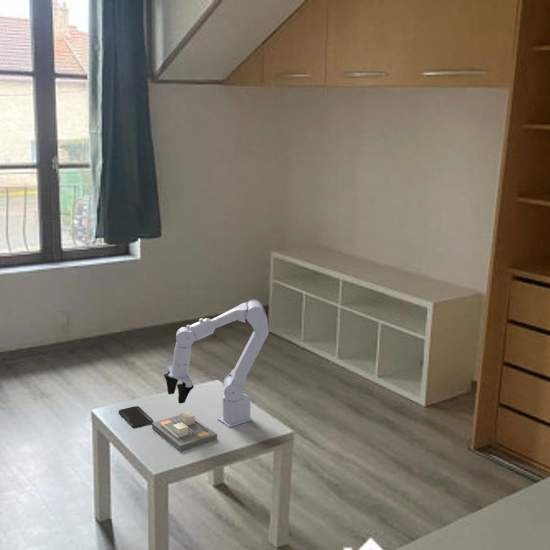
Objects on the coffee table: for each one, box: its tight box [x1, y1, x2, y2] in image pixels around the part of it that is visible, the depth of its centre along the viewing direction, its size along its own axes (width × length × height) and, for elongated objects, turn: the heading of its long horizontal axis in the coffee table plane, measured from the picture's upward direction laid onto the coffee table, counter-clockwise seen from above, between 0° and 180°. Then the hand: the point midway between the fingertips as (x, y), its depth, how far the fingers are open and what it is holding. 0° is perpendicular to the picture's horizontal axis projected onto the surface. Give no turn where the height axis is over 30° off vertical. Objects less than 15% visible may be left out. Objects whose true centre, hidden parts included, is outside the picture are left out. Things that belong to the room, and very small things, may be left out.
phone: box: [118, 405, 154, 429], centre depth 258 cm, size 8×1×15 cm
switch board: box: [151, 414, 218, 452], centre depth 245 cm, size 14×20×3 cm
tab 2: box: [173, 422, 188, 438], centre depth 241 cm, size 4×4×3 cm
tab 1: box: [179, 411, 196, 426], centre depth 249 cm, size 4×4×3 cm
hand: (176, 398), depth 251 cm, fingers open, 7 cm apart
